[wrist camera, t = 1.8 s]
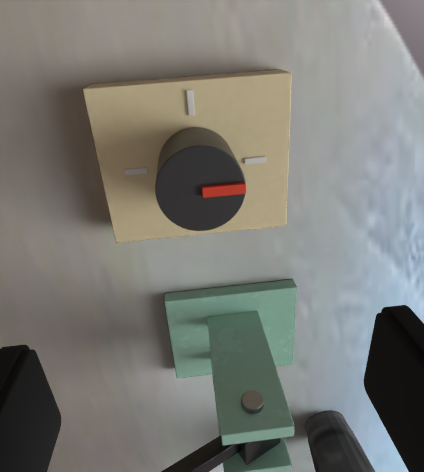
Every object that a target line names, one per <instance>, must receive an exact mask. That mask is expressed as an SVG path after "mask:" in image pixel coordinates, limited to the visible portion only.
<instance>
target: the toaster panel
mask: <svg viewBox="0 0 424 472" xmlns="http://www.w3.org/2000/svg"><path fill="white" fill-rule="evenodd" d="M291 78H292V73H291V72H288V71H284V70H267V71H255V72H242V73H229V74H216V75H204V76H191V77H178V78H166V79H153V80H140V81H127V82H115V83H102V84H91V85H90V86H88V87H86V88H84V89H83V93H84V97H85V102H86V107H87V111H88V116H89V120H90V125H91V130H92V134H93V139H94V143H95V148H96V153H97V157H98V162H99V166H100V171H101V176H102V180H103V185H104V189H105V194H106V199H107V203H108V208H109V212H110V217H111V222H112V226H113V231H114V235H115V240H116V243H121V242H131V241H141V240H151V239H161V238H170V237H180V236H190V235H200V234H210V233H219V232H229V231H239V230H249V229H259V228H269V227H278V226H286V218H287V190H288V162H289V134H290V106H291ZM192 127H201V128H206V129H209V130H212V131H214V132H216V133H217V134H219V135H220V136H221V137H222V138H223V139H224V140H225V141H226V142H227V143H228V145H229V147H230V148H231V150H232V152H233V154H234V156H235V158H236V160H237V161H238V163H239V165H240V167H241V169H242V171H243V173H244V177H245V181H246V194H245V198H244V201H243V204H242V206H241V208H240V209H239V211H238V212H237V213H236V215H235V216H234V217H233V218H232V219H231V220H230V221H228V222H227V223H226V224H224V225H222V226H220V227H218V228H215V229H212V230H207V231H192V230H187V229H184V228H182V227H180V226H177V225H176V224H174V223H173V222H171V221H170V220H169V219H168V218H167V217H166V216H165V215H164V214H163V212H162V211H161V209H160V207H159V205H158V202H157V199H156V194H155V183H156V175H157V167H158V159H159V154H160V152H161V149H162V147H163V145H164V144H165V142H166V141H167V140H168V139H169V138H170V137H171V136H172V135H174V134H175V133H177V132H179V131H181V130H183V129H186V128H192Z"/></svg>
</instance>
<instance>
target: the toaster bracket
mask: <svg viewBox="0 0 424 472" xmlns="http://www.w3.org/2000/svg"><path fill="white" fill-rule="evenodd" d="M296 298H297V286H296V284H295V282H294V280H293V279H291V280H282V281H273V282H264V283H255V284H246V285H237V286H227V287H218V288H209V289H200V290H191V291H182V292H173V293H165V308H166V315H167V321H168V327H169V333H170V340H171V346H172V352H173V359H174V365H175V371H176V377H177V378H185V377H193V376H201V375H209V374H212V375H213V384H214V392H215V400H216V409H217V417H218V426H219V434H220V436H221V440H222V445H231V444H239V443H246V442H254V441H261V440H269V439H276V438H281V440H280V443H279V444H278V445H276V446H275V447H273V448H272V449H270V450H269V451H267V452H266V453H264V454H263V455H261V456H260V457H258V458H257V459H255V460H254V461H252V462H251V463H250V464H248V465H246V464H245V463H244V461H243V460H242V458H241V457H240V455H239V454H238V453H237V454H235V455H233V456H232V457H230V458H229V459H227V460H226V461H224V462H223V467H224V472H291V471H292V463H291V460H290V456H289V453H288V449H287V446H286V442H285V439H284V437H291V436H294V427H295V426H294V423H293V419H292V416H291V413H290V410H289V407H288V404H287V400H286V397H285V394H284V391H283V388H282V385H281V382H280V378H279V375H278V372H277V369H276V366H283V365H291V364H293V351H294V334H295V316H296Z"/></svg>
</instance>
